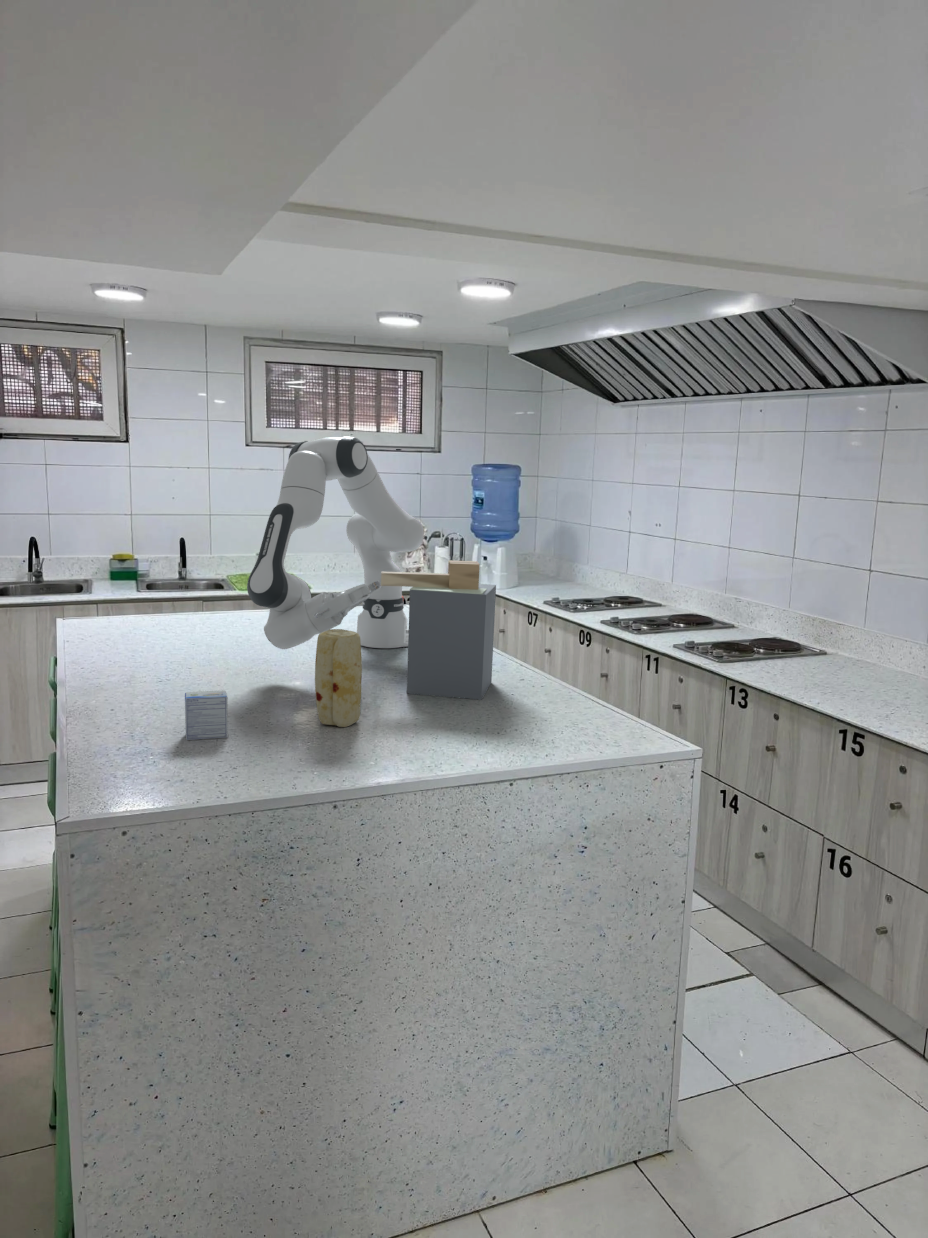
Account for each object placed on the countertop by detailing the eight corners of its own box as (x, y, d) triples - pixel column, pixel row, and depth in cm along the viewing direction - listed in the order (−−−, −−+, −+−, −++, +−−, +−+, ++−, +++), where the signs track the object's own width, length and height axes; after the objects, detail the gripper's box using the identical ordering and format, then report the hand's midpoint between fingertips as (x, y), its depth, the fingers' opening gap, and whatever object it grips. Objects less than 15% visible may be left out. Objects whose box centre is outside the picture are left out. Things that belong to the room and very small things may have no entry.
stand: (422, 676, 226) (425, 579, 222) (491, 682, 223) (496, 584, 219) (406, 693, 210) (409, 588, 205) (481, 699, 207) (486, 593, 202)
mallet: (381, 583, 212) (381, 558, 211) (476, 585, 214) (477, 561, 213) (380, 586, 206) (381, 561, 205) (478, 589, 208) (479, 564, 207)
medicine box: (226, 731, 176) (226, 689, 174) (228, 738, 172) (227, 695, 170) (185, 734, 173) (184, 691, 172) (185, 741, 169) (185, 697, 168)
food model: (356, 717, 189) (358, 626, 185) (365, 727, 183) (367, 632, 179) (311, 721, 185) (312, 627, 181) (318, 730, 179) (319, 634, 175)
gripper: (305, 605, 203) (356, 579, 200) (332, 593, 223) (379, 569, 220) (318, 630, 204) (369, 604, 201) (344, 615, 224) (391, 592, 221)
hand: (374, 586), depth 211 cm, fingers open, 8 cm apart
